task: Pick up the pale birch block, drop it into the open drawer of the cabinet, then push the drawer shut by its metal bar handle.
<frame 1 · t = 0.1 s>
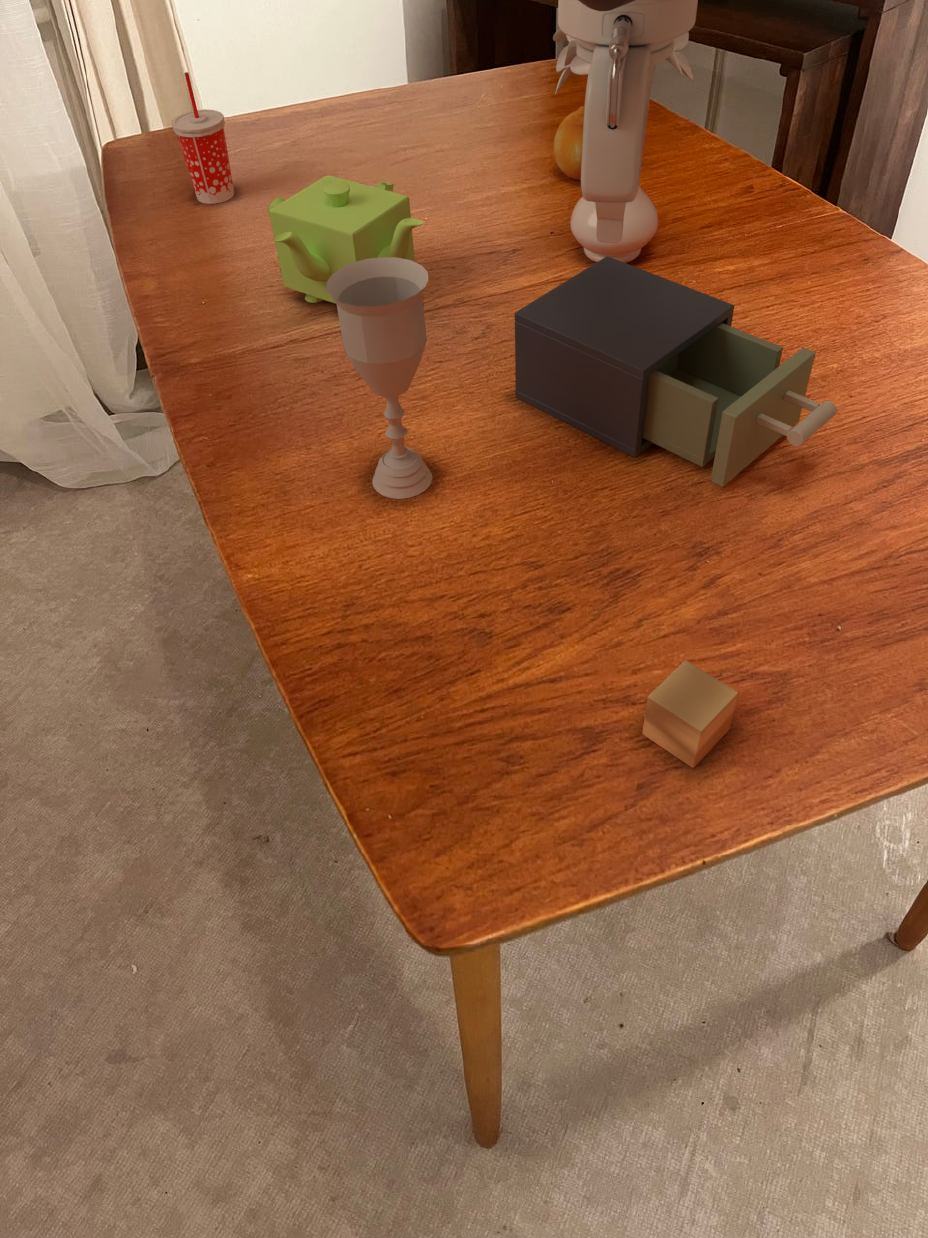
hand: (614, 207, 72), 19 cm above the table, tool pointing down, fingers open, 8 cm apart
fruit: (586, 174, 121), on the table
drawer: (725, 399, 81), point 4 cm above the table, slide at 7.0 cm
chalice: (402, 480, 83), on the table
cabinet: (617, 394, 89), on the table
flower vase: (606, 250, 107), on the table
block: (685, 732, 64), on the table
kettle: (350, 296, 104), on the table
beverage cup: (216, 196, 122), on the table
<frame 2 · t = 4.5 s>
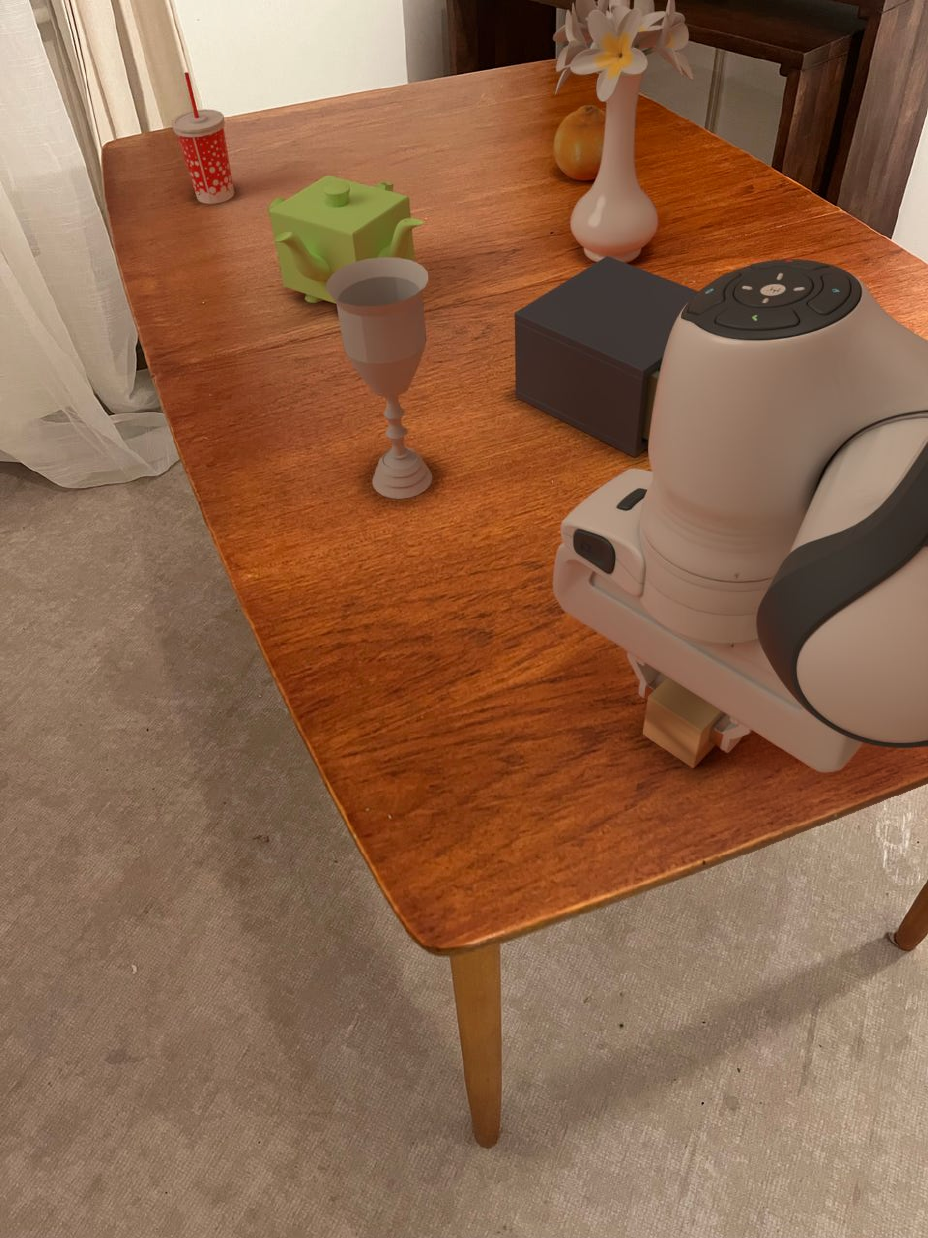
hand: (688, 717, 63), 2 cm above the table, tool pointing down, fingers closed on block, 4 cm apart
block: (685, 732, 64), on the table, touching gripper
everything else where it was.
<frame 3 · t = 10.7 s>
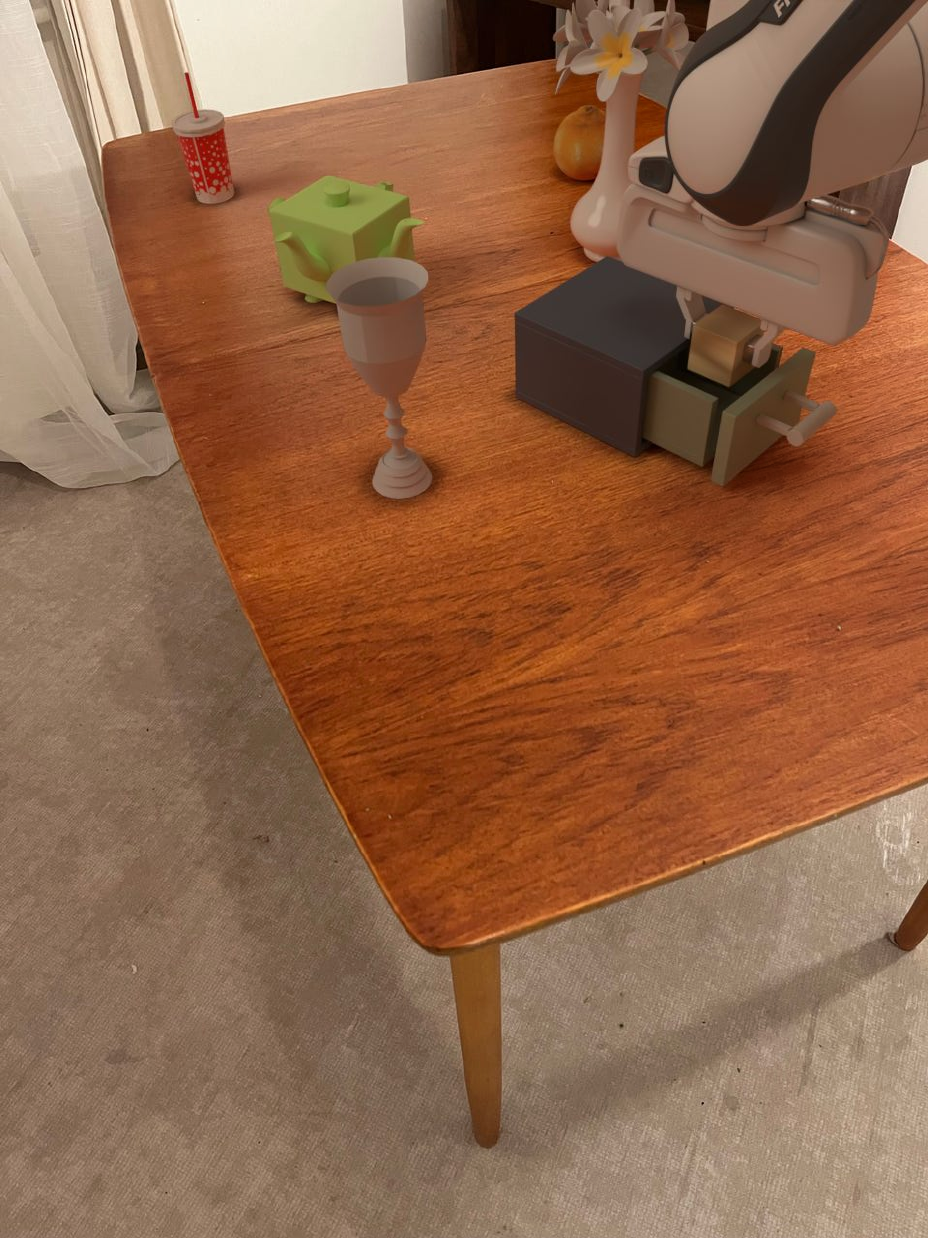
hand: (725, 349, 78), 9 cm above the table, tool pointing down, fingers closed on block, 4 cm apart
block: (722, 367, 79), point 7 cm above the table, touching gripper
everything else where it was.
when the fingers open (11 cm above the table, at t = 21.1 s): block drops 7 cm, resting on drawer.
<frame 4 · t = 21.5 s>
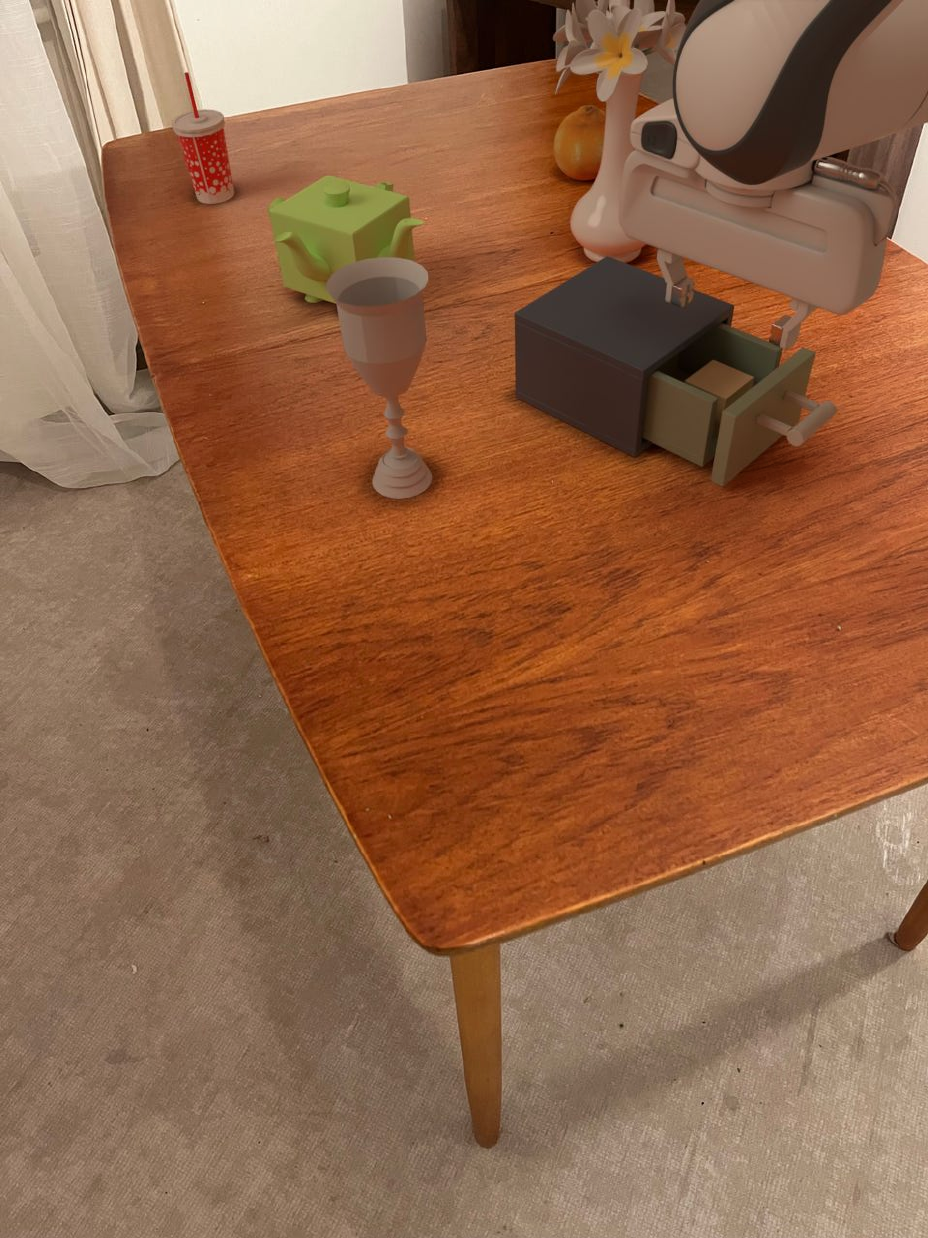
hand: (729, 322, 76), 11 cm above the table, tool pointing down, fingers open, 8 cm apart
drawer: (725, 399, 81), point 4 cm above the table, slide at 7.0 cm, touching block
block: (712, 419, 83), point 2 cm above the table, touching drawer
everything else where it was.
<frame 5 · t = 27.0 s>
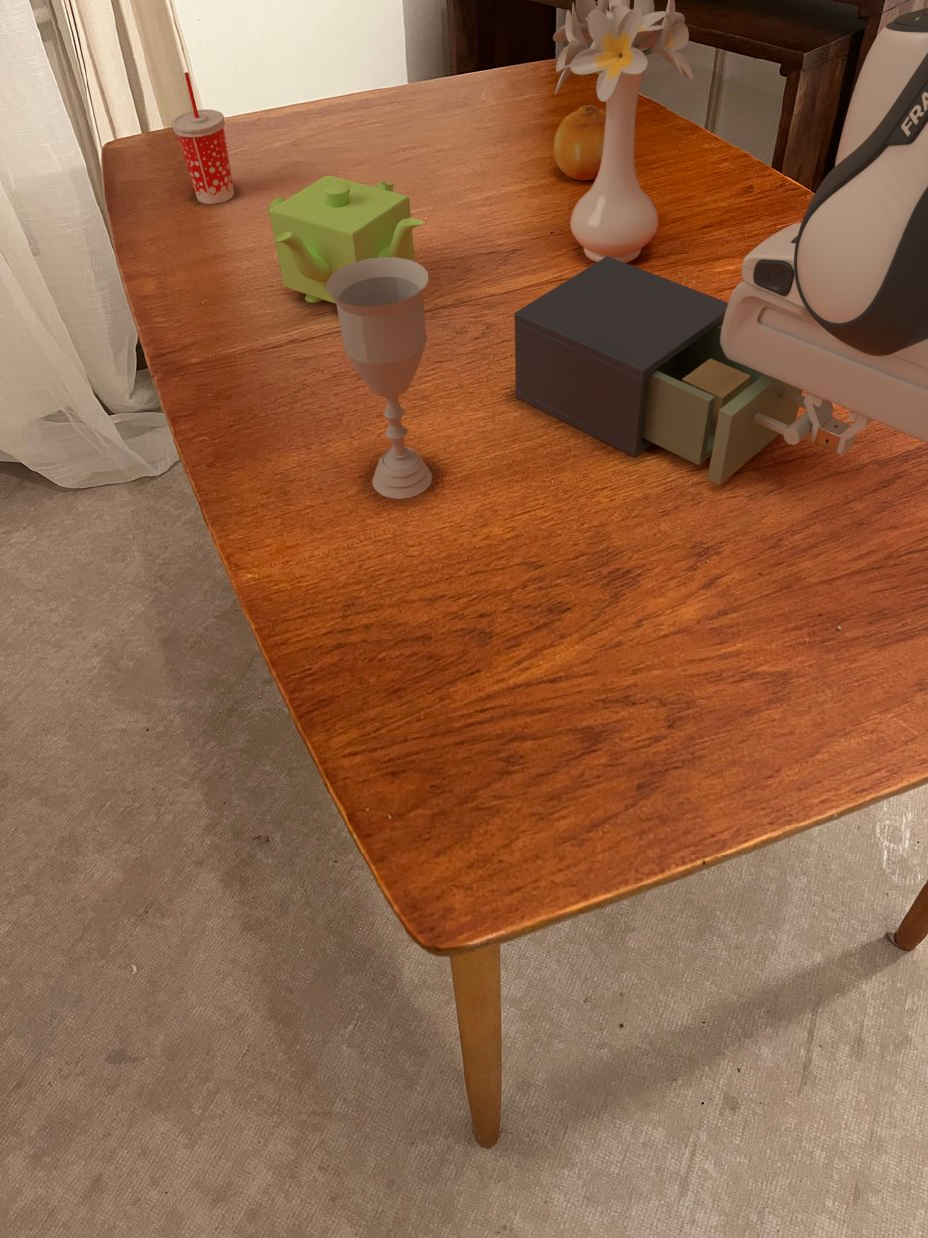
hand: (830, 445, 76), 4 cm above the table, tool pointing down, fingers closed
drawer: (722, 398, 81), point 4 cm above the table, slide at 6.7 cm, touching block, gripper
everything else where it was.
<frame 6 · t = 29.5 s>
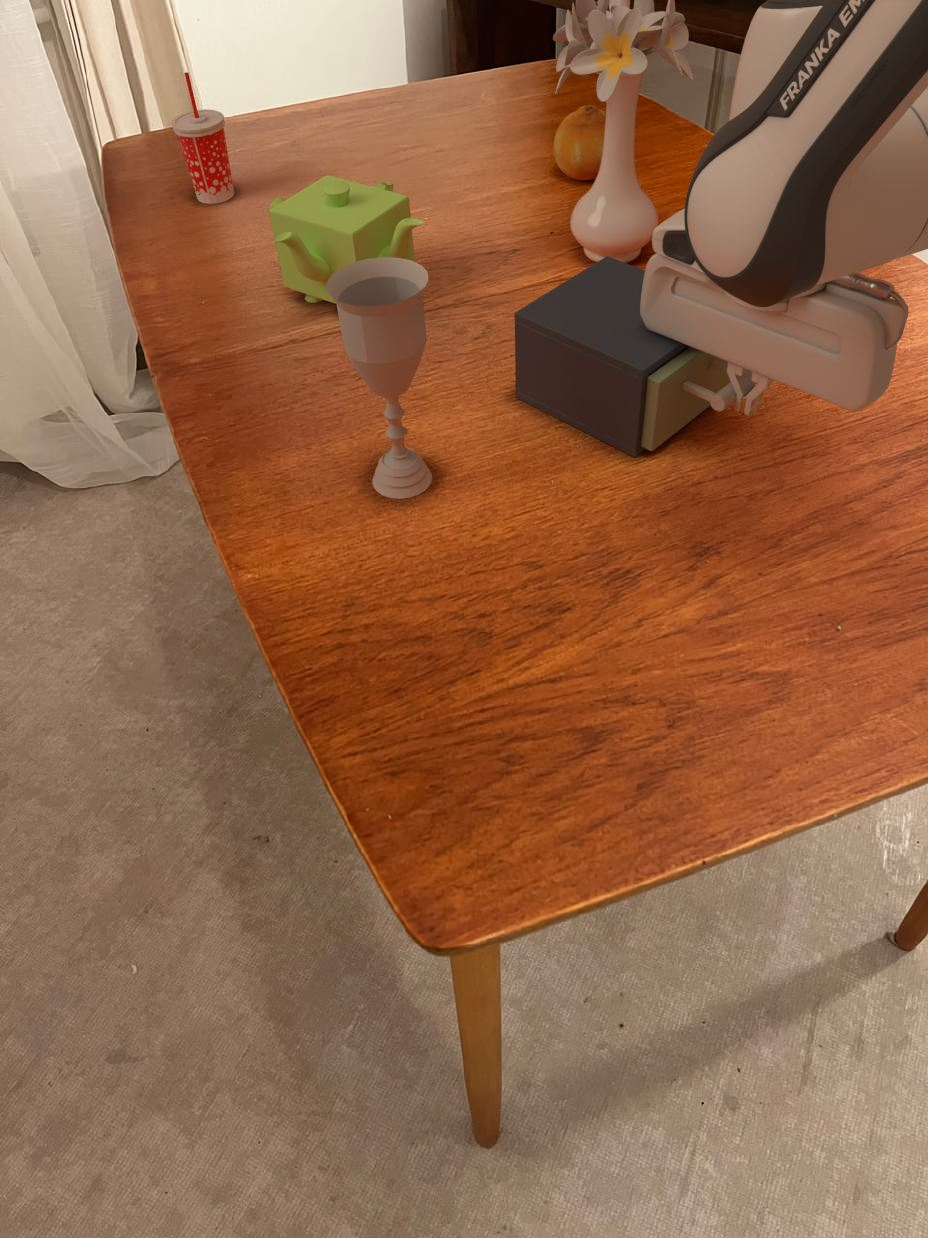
hand: (746, 410, 80), 4 cm above the table, tool pointing down, fingers closed, pressing on drawer
drawer: (656, 369, 84), point 4 cm above the table, slide at 0.0 cm, touching block, cabinet, gripper
block: (645, 388, 86), point 2 cm above the table, touching drawer
everything else where it was.
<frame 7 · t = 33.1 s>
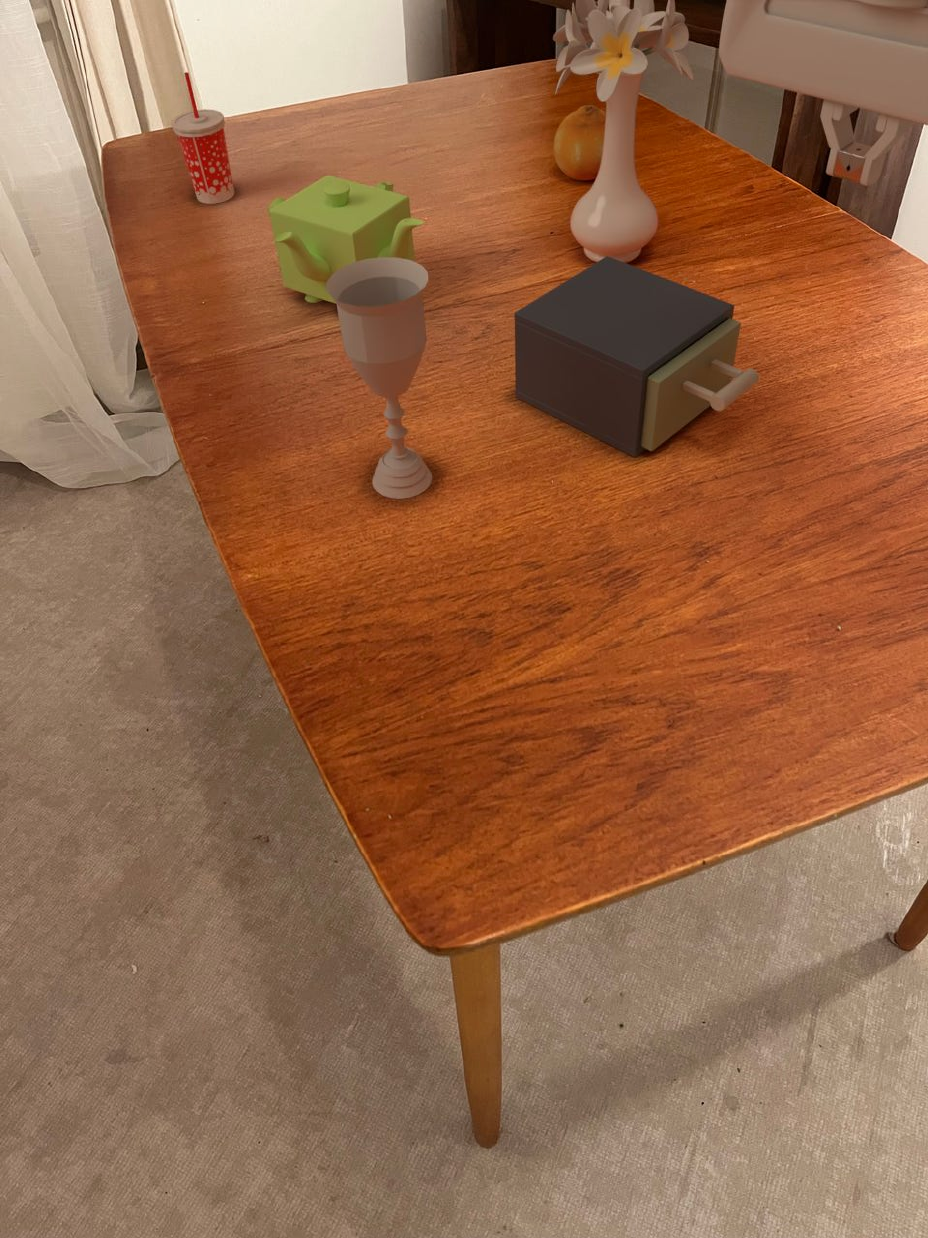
hand: (852, 177, 63), 24 cm above the table, tool pointing down, fingers closed
drawer: (656, 369, 84), point 4 cm above the table, slide at 0.0 cm, touching block, cabinet
everything else where it was.
at the end: drawer slide at 0.0 cm; block inside the target area in the cabinet (2.6 cm from its centre), point 2.0 cm above the cabinet's base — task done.
